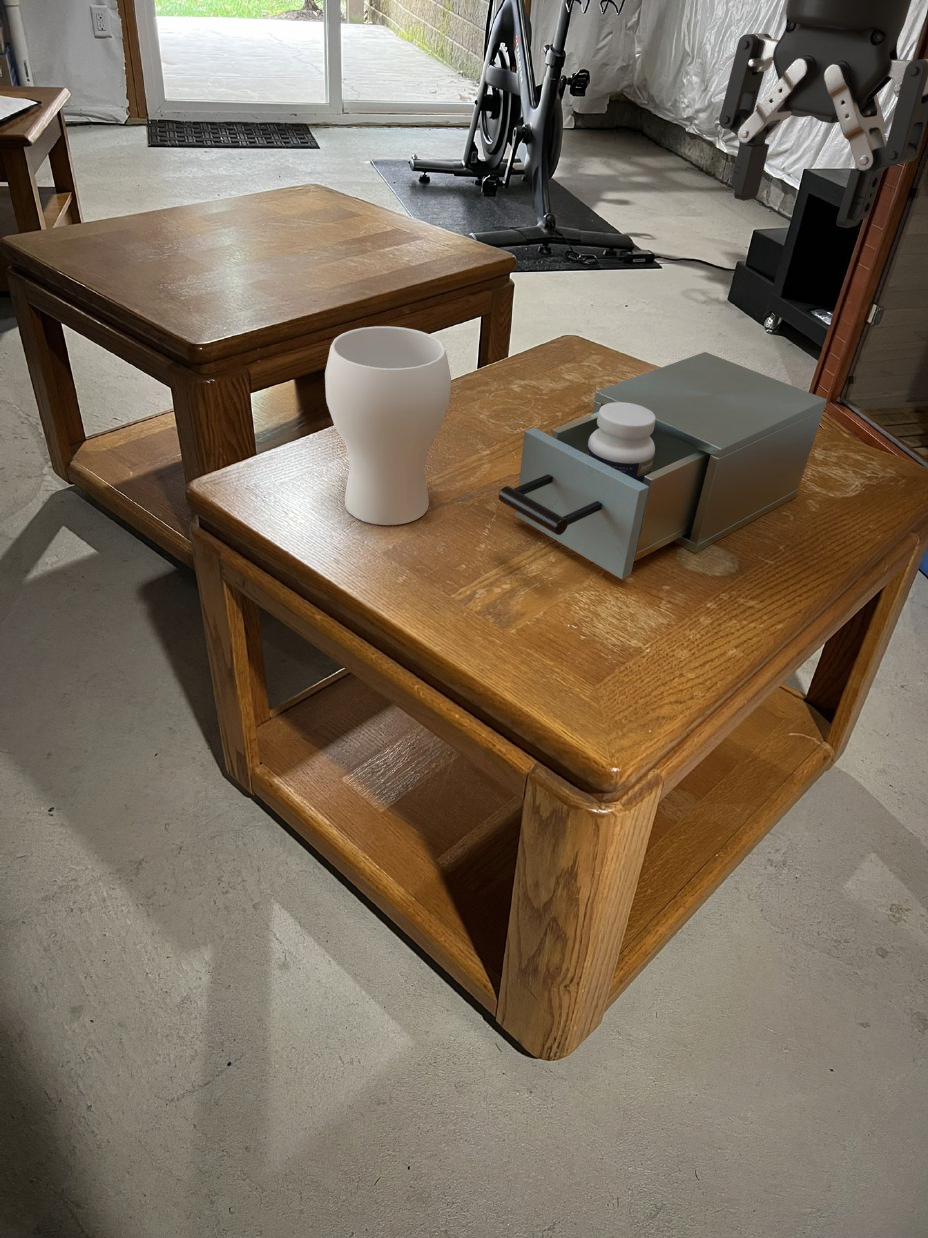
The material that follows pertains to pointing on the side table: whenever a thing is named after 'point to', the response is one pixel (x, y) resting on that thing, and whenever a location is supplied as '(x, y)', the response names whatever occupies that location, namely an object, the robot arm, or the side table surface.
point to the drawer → (606, 495)
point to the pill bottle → (624, 439)
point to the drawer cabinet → (729, 435)
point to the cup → (387, 417)
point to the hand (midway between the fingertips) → (793, 211)
